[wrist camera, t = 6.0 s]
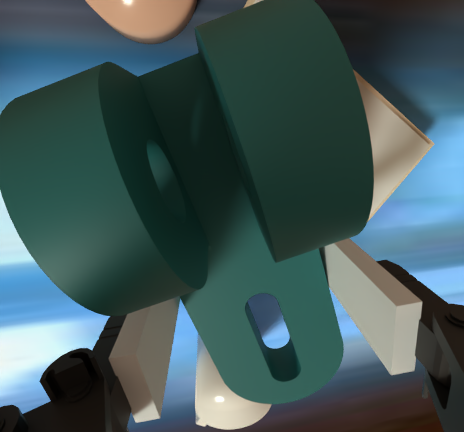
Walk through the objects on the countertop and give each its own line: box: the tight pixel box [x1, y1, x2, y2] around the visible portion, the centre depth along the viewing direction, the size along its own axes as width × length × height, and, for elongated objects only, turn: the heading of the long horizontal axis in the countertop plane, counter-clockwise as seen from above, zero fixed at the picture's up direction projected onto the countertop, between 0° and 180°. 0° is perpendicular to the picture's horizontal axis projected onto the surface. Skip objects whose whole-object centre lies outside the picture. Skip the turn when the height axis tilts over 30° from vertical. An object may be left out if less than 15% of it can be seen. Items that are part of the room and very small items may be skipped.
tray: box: [244, 0, 434, 222], centre depth 26 cm, size 22×11×3 cm, turn 56°
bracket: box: [0, 0, 374, 404], centre depth 11 cm, size 18×7×8 cm, turn 19°
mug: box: [195, 333, 271, 429], centre depth 32 cm, size 8×11×9 cm
